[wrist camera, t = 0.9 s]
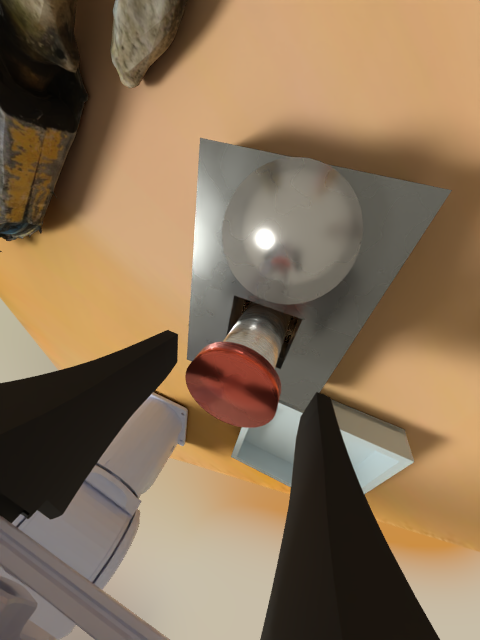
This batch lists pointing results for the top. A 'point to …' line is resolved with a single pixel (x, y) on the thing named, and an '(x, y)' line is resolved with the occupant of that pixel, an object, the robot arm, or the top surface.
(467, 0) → the top surface
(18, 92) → the pulley block
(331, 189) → the bracket
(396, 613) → the robot arm
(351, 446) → the tray
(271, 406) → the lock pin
